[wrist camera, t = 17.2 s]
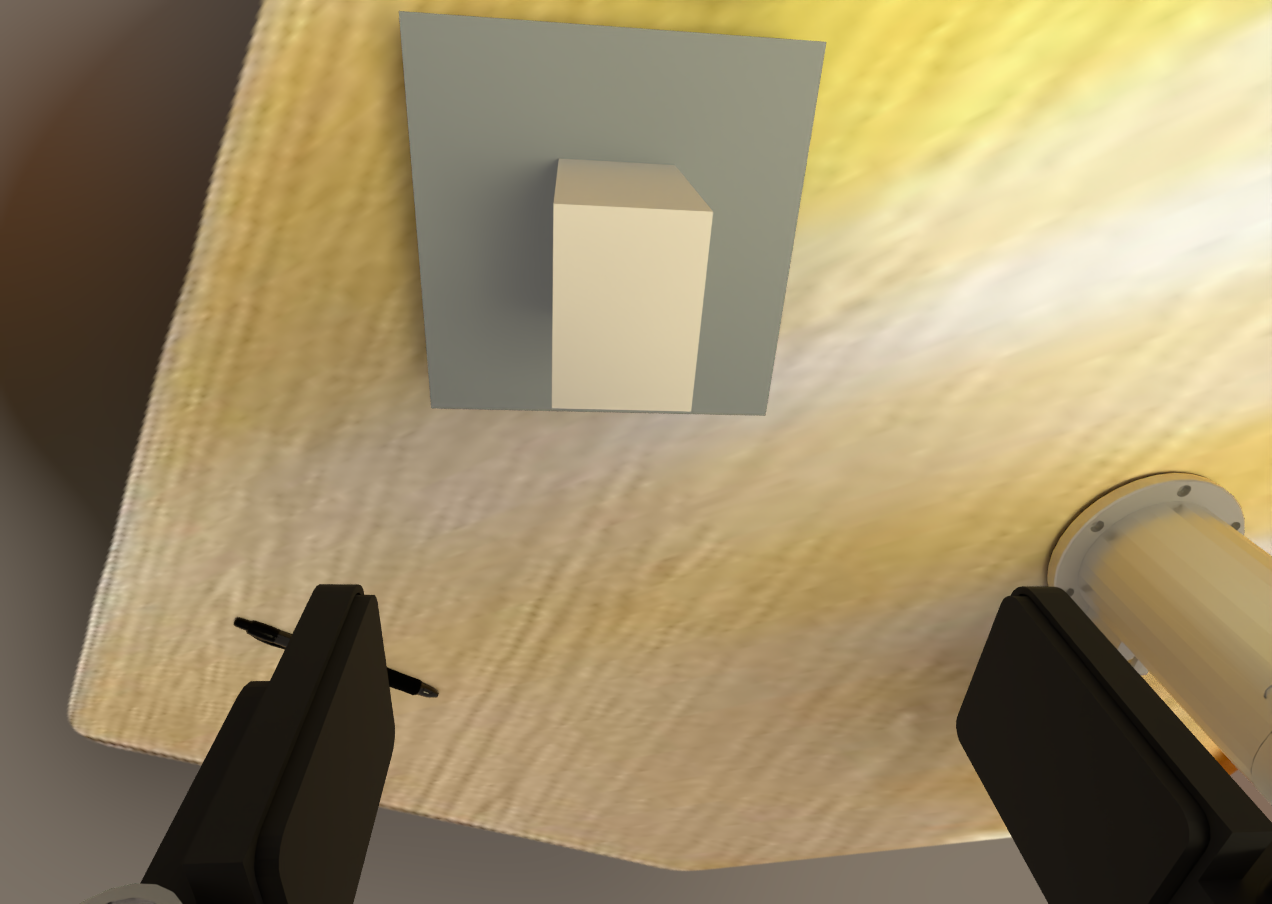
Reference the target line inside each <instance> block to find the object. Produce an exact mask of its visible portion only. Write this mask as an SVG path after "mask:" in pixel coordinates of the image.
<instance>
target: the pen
mask: <svg viewBox="0 0 1272 904" xmlns="http://www.w3.org/2000/svg"><path fill="white" fill-rule="evenodd" d="M234 626H236V627H238V628H241V629H243V630H246V632H247V634H249V635H251V636H253V637H254V638H256V639H257V640H259V641H261V642H264V643H266V644H268V645H271V646H275V647H278V648H282V649H286V647H287V645H288V643H289V640H290V638H291V636H292V634H290V633H287V632H284V631H281V630H279V629H277V628H275V627H272V626H269V625H267V624H264V623H261V622H257V621H254V620H253V621H249V620H246V619H242V618H236V620H235V622H234ZM387 673H388V680H389V687H392V688H395V689H398V690H401V691H404V692H406V693H409V694H411V695H421V696H424V697H436V698H437V697H438V694H439V693H438V692H437V691H436V690H435V689H433V688H432V687H430V686H428V685H426V684H424V683H422V682H421V681H420V680H418V679H416V678H412V677H410V676H407V675H405V674H402V673H399V672H397V671H394V670H392V669H389V668H387Z"/></svg>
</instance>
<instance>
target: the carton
mask: <svg viewBox="0 0 1272 904" xmlns="http://www.w3.org/2000/svg"><path fill="white" fill-rule="evenodd" d="M712 218H713V211H712V210H711V209H710V207H709V206H708V205H707V204H706V202H705V201H704V200H703V199H702V198H701V196H700V195H699V194H698V193H697V191H696V190H695V189H694V188H693V187H692V185H691V184H690V183H689V182H688V181H687V179H686V178H685V177H684V176H683V174H682V173H681V172H680V171H679V170H678V168H677V167H676V166H675V165H666V164H648V163H630V162H613V161H595V160H578V159H560V158H559V161H558V170H557V178H556V187H555V195H554V207H553V326H552V408H560V409H601V410H643V411H684V412H691V408H692V399H693V390H694V381H695V372H696V363H697V354H698V345H699V336H700V327H701V318H702V308H703V299H704V290H705V281H706V272H707V263H708V254H709V245H710V236H711V227H712Z"/></svg>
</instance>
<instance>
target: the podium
mask: <svg viewBox="0 0 1272 904" xmlns="http://www.w3.org/2000/svg"><path fill="white" fill-rule="evenodd" d="M399 20H400V32H401V44H402V56H403V69H404V81H405V93H406V105H407V117H408V130H409V142H410V154H411V166H412V178H413V191H414V203H415V215H416V227H417V239H418V252H419V264H420V276H421V288H422V300H423V313H424V325H425V337H426V349H427V361H428V374H429V386H430V398H431V408H439V409H485V410H531V411H576V412H622V413H667V414H713V415H758V416H765V415H766V409H767V403H768V396H769V390H770V384H771V378H772V372H773V366H774V360H775V354H776V347H777V341H778V335H779V329H780V323H781V317H782V311H783V305H784V298H785V292H786V286H787V280H788V274H789V268H790V262H791V256H792V249H793V243H794V237H795V231H796V225H797V219H798V213H799V207H800V200H801V194H802V188H803V182H804V176H805V170H806V164H807V157H808V151H809V145H810V139H811V133H812V127H813V121H814V115H815V108H816V102H817V96H818V90H819V84H820V78H821V72H822V66H823V59H824V53H825V47H826V42H820V41H807V40H793V39H779V38H765V37H751V36H737V35H723V34H709V33H696V32H682V31H668V30H654V29H640V28H626V27H612V26H599V25H585V24H571V23H557V22H543V21H529V20H515V19H502V18H488V17H474V16H460V15H446V14H432V13H418V12H404V11H399ZM559 158H560V159H578V160H595V161H613V162H630V163H648V164H666V165H675V166H676V167H677V168H678V170H679V171H680V172H681V173H682V174H683V176H684V177H685V178H686V179H687V181H688V182H689V183H690V184H691V185H692V187H693V188H694V189H695V190H696V191H697V193H698V194H699V195H700V196H701V198H702V199H703V200H704V201H705V202H706V204H707V205H708V206H709V207H710V209H711V210H712V211H713V218H712V227H711V236H710V245H709V254H708V263H707V272H706V281H705V290H704V299H703V308H702V318H701V327H700V336H699V345H698V354H697V363H696V372H695V381H694V390H693V399H692V408H691V412H684V411H643V410H601V409H560V408H552V326H553V207H554V195H555V187H556V178H557V170H558V161H559Z"/></svg>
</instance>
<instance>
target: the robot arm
mask: <svg viewBox="0 0 1272 904" xmlns="http://www.w3.org/2000/svg"><path fill="white" fill-rule="evenodd" d="M1244 533H1245V518H1244V515H1243V512H1242V508H1241V506H1240V504H1239V503H1238V502H1237V500H1236V499H1235V497H1234V496H1233V495H1232V494H1230V493H1229V492H1228V491H1226V490H1225V489H1224V488H1223V487H1221V486H1220V485H1218V484H1217V483H1215V482H1213V481H1211V480H1209V479H1208V478H1205V477H1201V476H1198V475H1194V474H1185V473H1169V474H1160V475H1154V476H1150V477H1147V478H1143V479H1139V480H1136V481H1134V482H1131V483H1129V484H1126V485H1124V486H1122V487H1119V488H1117V489H1115V490H1114V491H1112V492H1110V493H1108V494H1107V495H1105V496H1103V497H1101V498H1100V499H1098V500H1097V501H1096V502H1095V503H1093V504H1092V505H1091V506H1089V507H1088V508H1087V509H1085V510H1084V511H1083V512H1082V513H1081V514H1080V515H1079V516H1078V517H1077V518H1076V519H1075V520H1074V521H1073V522H1072V523H1071V524H1070V526H1069V527H1068V528H1067V529H1066V531H1065V532H1064V533H1063V535H1062V536H1061V537H1060V539H1059V541H1058V543H1057V545H1056V547H1055V549H1054V551H1053V552H1052V556H1051V559H1050V562H1049V566H1048V576H1047V582H1048V587H1018V588H1016V589H1015V590H1014V591H1013V593H1012V594H1011V596H1007V597H1006V598H1004V599H1003V601H1002V603H1001V605H1000V608H999V610H998V613H997V615H996V618H995V620H994V623H993V626H992V628H991V631H990V633H989V636H988V639H987V641H986V644H985V646H984V649H983V651H982V654H981V657H980V659H979V662H978V664H977V667H976V670H975V672H974V675H973V677H972V680H971V682H970V685H969V688H968V690H967V693H966V695H965V698H964V700H963V703H962V706H961V708H960V711H959V713H958V716H957V720H956V729H957V735H958V738H959V741H960V743H961V745H962V747H963V749H964V750H965V752H966V754H967V756H968V758H969V760H970V761H971V763H972V765H973V767H974V769H975V771H976V772H977V774H978V776H979V778H980V780H981V781H982V783H983V785H984V787H985V789H986V791H987V792H988V794H989V796H990V798H991V800H992V802H993V803H994V805H995V807H996V809H997V811H998V812H999V814H1000V816H1001V818H1002V820H1003V822H1004V823H1005V825H1006V827H1007V829H1008V831H1009V833H1010V834H1011V836H1012V838H1013V840H1014V842H1015V844H1016V845H1017V847H1018V849H1019V851H1020V853H1021V854H1022V856H1023V858H1024V860H1025V862H1026V863H1027V865H1028V867H1029V869H1030V871H1031V873H1032V874H1033V876H1034V878H1035V880H1036V882H1037V883H1038V885H1039V887H1040V889H1041V891H1042V893H1043V894H1044V896H1045V898H1046V900H1047V902H1048V904H1272V822H1271V821H1270V820H1269V819H1268V818H1267V817H1266V816H1265V815H1264V813H1262V811H1261V810H1260V809H1259V808H1258V807H1257V806H1256V805H1255V803H1254V802H1253V801H1252V800H1251V799H1250V798H1249V797H1248V796H1247V795H1246V793H1245V792H1244V791H1243V790H1242V789H1241V788H1240V787H1239V785H1238V784H1237V783H1236V782H1235V781H1234V780H1233V779H1232V778H1231V776H1230V775H1229V774H1228V773H1227V772H1226V771H1225V770H1224V769H1223V767H1222V766H1221V765H1220V764H1219V763H1218V762H1217V761H1216V760H1215V758H1214V757H1213V756H1212V755H1211V754H1210V753H1209V752H1208V751H1207V750H1206V748H1205V747H1204V746H1203V745H1202V744H1201V743H1200V742H1199V741H1198V739H1197V738H1196V737H1195V736H1194V735H1193V734H1192V733H1191V732H1190V730H1189V729H1188V728H1187V727H1186V726H1185V725H1184V724H1183V723H1182V721H1181V720H1180V719H1179V718H1178V717H1177V716H1176V715H1175V714H1174V713H1173V711H1172V710H1171V709H1170V708H1169V707H1168V706H1167V705H1166V704H1165V702H1164V701H1163V700H1162V699H1161V698H1160V697H1159V696H1158V695H1157V693H1156V692H1155V691H1154V690H1153V689H1152V688H1151V687H1150V686H1149V684H1148V683H1147V682H1146V681H1145V680H1144V679H1143V678H1142V677H1141V675H1146V674H1147V673H1148V671H1149V672H1150V673H1151V674H1152V675H1153V676H1154V678H1155V679H1156V680H1157V681H1158V682H1159V683H1160V684H1161V685H1162V686H1163V687H1164V688H1165V690H1166V691H1167V692H1168V693H1169V694H1170V695H1171V696H1172V697H1173V698H1174V699H1175V701H1176V702H1177V703H1178V704H1179V705H1180V706H1181V707H1182V708H1183V709H1184V710H1185V711H1186V713H1187V714H1188V715H1189V716H1190V717H1191V718H1192V719H1193V720H1194V721H1195V722H1196V723H1197V725H1198V726H1199V727H1200V728H1201V729H1202V730H1203V731H1204V732H1205V733H1206V734H1207V736H1208V737H1209V738H1210V739H1211V740H1212V741H1213V742H1214V743H1215V744H1216V745H1217V746H1218V748H1219V749H1220V750H1221V751H1222V752H1223V753H1224V754H1225V755H1226V756H1227V757H1228V759H1229V760H1230V761H1231V762H1232V763H1233V764H1234V765H1235V766H1236V767H1237V768H1238V769H1239V771H1240V772H1241V773H1242V774H1243V775H1244V776H1245V777H1246V778H1247V779H1248V780H1249V781H1250V783H1251V784H1252V785H1253V786H1254V787H1255V788H1256V789H1257V790H1258V791H1259V792H1260V793H1261V795H1262V796H1263V797H1264V798H1265V799H1266V800H1267V801H1268V802H1269V803H1270V804H1271V805H1272V556H1271V555H1269V554H1268V553H1267V552H1265V551H1264V550H1263V549H1261V548H1260V547H1259V546H1257V545H1256V544H1254V543H1253V542H1252V541H1250V540H1249V539H1248V538H1246V537H1245V536H1244ZM394 739H395V723H394V716H393V709H392V702H391V695H390V688H389V680H388V673H387V666H386V659H385V652H384V645H383V638H382V630H381V623H380V616H379V609H378V602H377V598H376V596H375V595H364V591H363V588H362V586H361V585H338V584H319V585H318V586H316V588H315V589H314V591H313V593H312V595H311V597H310V599H309V601H308V603H307V605H306V607H305V609H304V611H303V613H302V616H301V618H300V620H299V622H298V624H297V626H296V628H295V630H294V632H293V634H292V636H291V638H290V640H289V643H288V645H287V647H286V649H285V651H284V653H283V655H282V657H281V659H280V661H279V663H278V665H277V667H276V670H275V672H274V674H273V676H272V678H271V680H270V681H251V682H249V683H248V684H247V685H246V686H244V687H243V689H242V690H241V692H240V693H239V695H238V697H237V698H236V700H235V702H234V704H233V706H232V708H231V710H230V712H229V714H228V716H227V718H226V720H225V721H224V723H223V725H222V727H221V729H220V731H219V733H218V735H217V737H216V739H215V741H214V743H213V745H212V746H211V748H210V750H209V752H208V754H207V756H206V758H205V760H204V762H203V764H202V766H201V768H200V770H199V772H198V773H197V775H196V777H195V779H194V781H193V783H192V785H191V787H190V789H189V791H188V793H187V795H186V797H185V799H184V800H183V802H182V804H181V806H180V808H179V810H178V812H177V814H176V816H175V818H174V820H173V821H172V823H171V825H170V827H169V829H168V831H167V833H166V835H165V837H164V839H163V841H162V843H161V844H160V846H159V848H158V850H157V852H156V854H155V856H154V858H153V860H152V862H151V864H150V866H149V868H148V870H147V872H146V873H145V875H144V877H143V880H142V881H141V883H140V884H139V883H134V884H129V885H125V886H121V887H116V888H112V889H109V890H107V891H104V892H103V893H100V894H98V895H95V896H93V897H91V898H89V899H87V900H85V901H83V902H81V903H80V904H353V902H354V898H355V894H356V891H357V887H358V883H359V879H360V875H361V871H362V868H363V864H364V860H365V856H366V852H367V848H368V845H369V841H370V837H371V833H372V829H373V825H374V822H375V817H376V814H377V810H378V806H379V802H380V799H381V795H382V791H383V787H384V783H385V779H386V776H387V772H388V768H389V764H390V760H391V756H392V752H393V747H394Z"/></svg>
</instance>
